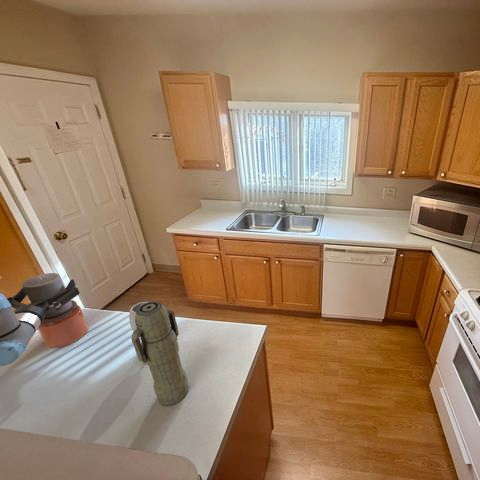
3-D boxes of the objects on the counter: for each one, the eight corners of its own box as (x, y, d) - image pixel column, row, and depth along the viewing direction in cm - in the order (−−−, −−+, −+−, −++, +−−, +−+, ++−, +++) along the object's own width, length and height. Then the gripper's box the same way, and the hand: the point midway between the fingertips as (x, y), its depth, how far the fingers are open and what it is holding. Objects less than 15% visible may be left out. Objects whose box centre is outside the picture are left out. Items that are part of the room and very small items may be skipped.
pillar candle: (31, 320, 92) (12, 286, 86) (47, 304, 100) (31, 271, 94) (64, 315, 95) (48, 281, 89) (77, 299, 103) (64, 268, 97)
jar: (36, 350, 95) (20, 323, 90) (59, 326, 107) (47, 301, 102) (77, 345, 98) (64, 319, 93) (95, 322, 110) (85, 297, 105)
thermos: (147, 407, 78) (114, 318, 64) (175, 374, 89) (153, 291, 74) (171, 415, 76) (143, 325, 62) (197, 380, 87) (178, 297, 73)
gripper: (-29, 344, 75) (7, 303, 92) (80, 319, 87) (94, 286, 104) (-43, 324, 72) (-3, 286, 89) (72, 301, 84) (88, 271, 100)
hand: (50, 286), depth 96 cm, fingers open, 13 cm apart
